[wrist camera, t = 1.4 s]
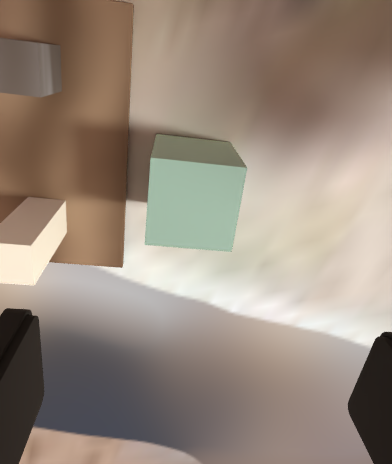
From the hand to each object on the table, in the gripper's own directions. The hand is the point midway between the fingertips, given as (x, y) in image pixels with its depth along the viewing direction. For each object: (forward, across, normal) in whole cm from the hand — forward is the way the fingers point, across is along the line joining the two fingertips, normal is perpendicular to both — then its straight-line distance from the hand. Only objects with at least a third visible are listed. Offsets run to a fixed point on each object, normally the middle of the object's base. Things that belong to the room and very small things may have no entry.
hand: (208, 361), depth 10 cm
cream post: (+18, +10, +4) cm, 20 cm away
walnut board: (+18, +10, -1) cm, 21 cm away
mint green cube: (+18, 0, 0) cm, 18 cm away
